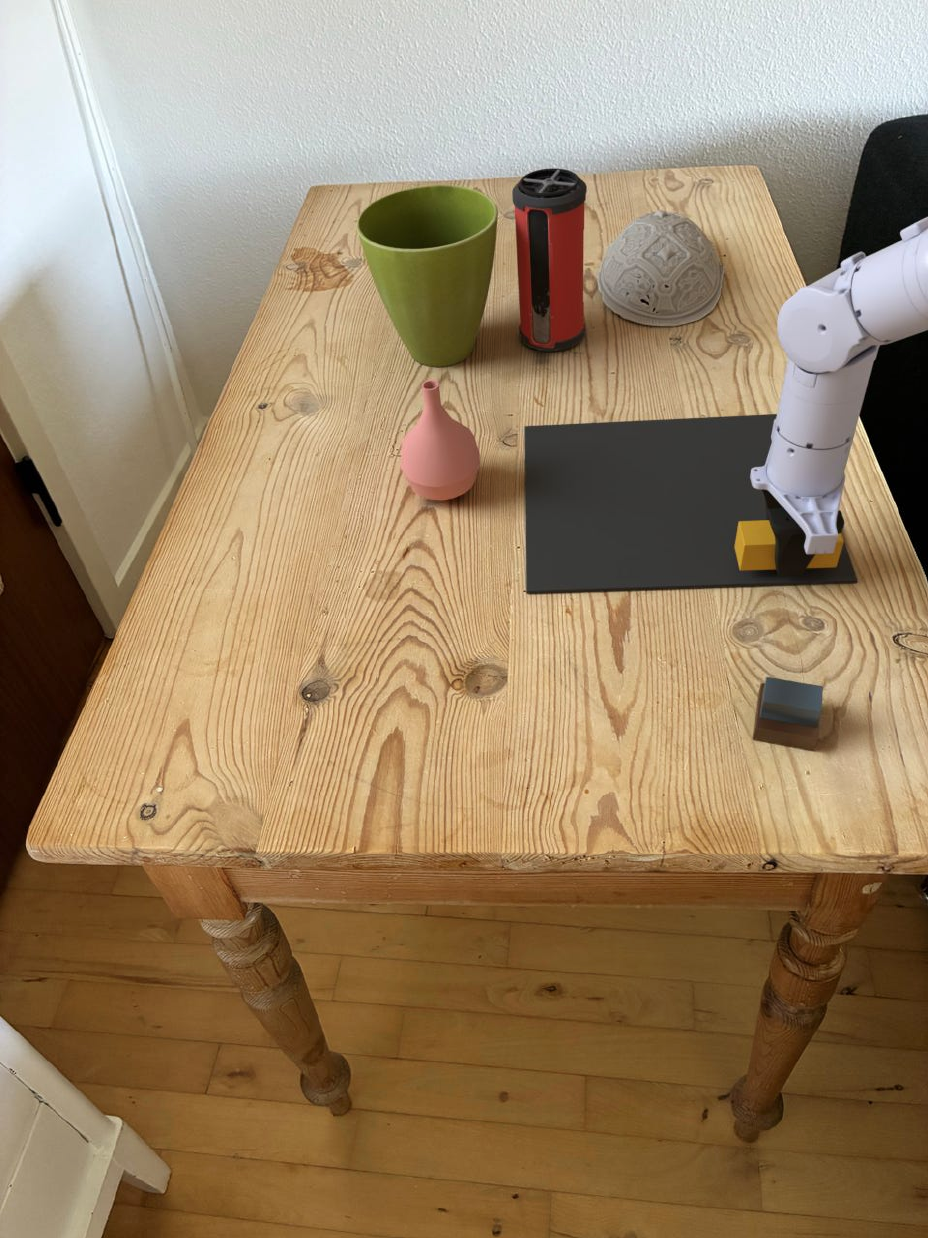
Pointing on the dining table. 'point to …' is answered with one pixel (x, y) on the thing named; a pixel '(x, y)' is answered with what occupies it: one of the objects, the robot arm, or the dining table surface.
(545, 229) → the speaker
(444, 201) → the flower pot
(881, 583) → the dining table surface
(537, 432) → the mat
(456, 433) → the pink bud vase
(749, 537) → the bar
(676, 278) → the carved stone dome
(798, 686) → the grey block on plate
